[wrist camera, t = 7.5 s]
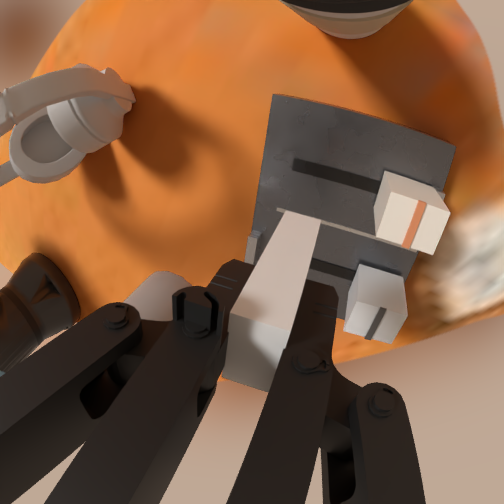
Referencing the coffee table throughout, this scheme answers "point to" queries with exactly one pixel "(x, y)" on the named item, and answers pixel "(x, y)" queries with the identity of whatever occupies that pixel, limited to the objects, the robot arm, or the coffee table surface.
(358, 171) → the console
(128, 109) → the headphones
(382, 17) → the coffee cup
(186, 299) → the robot arm
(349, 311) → the block
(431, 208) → the block
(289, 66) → the coffee table surface
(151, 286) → the cup
